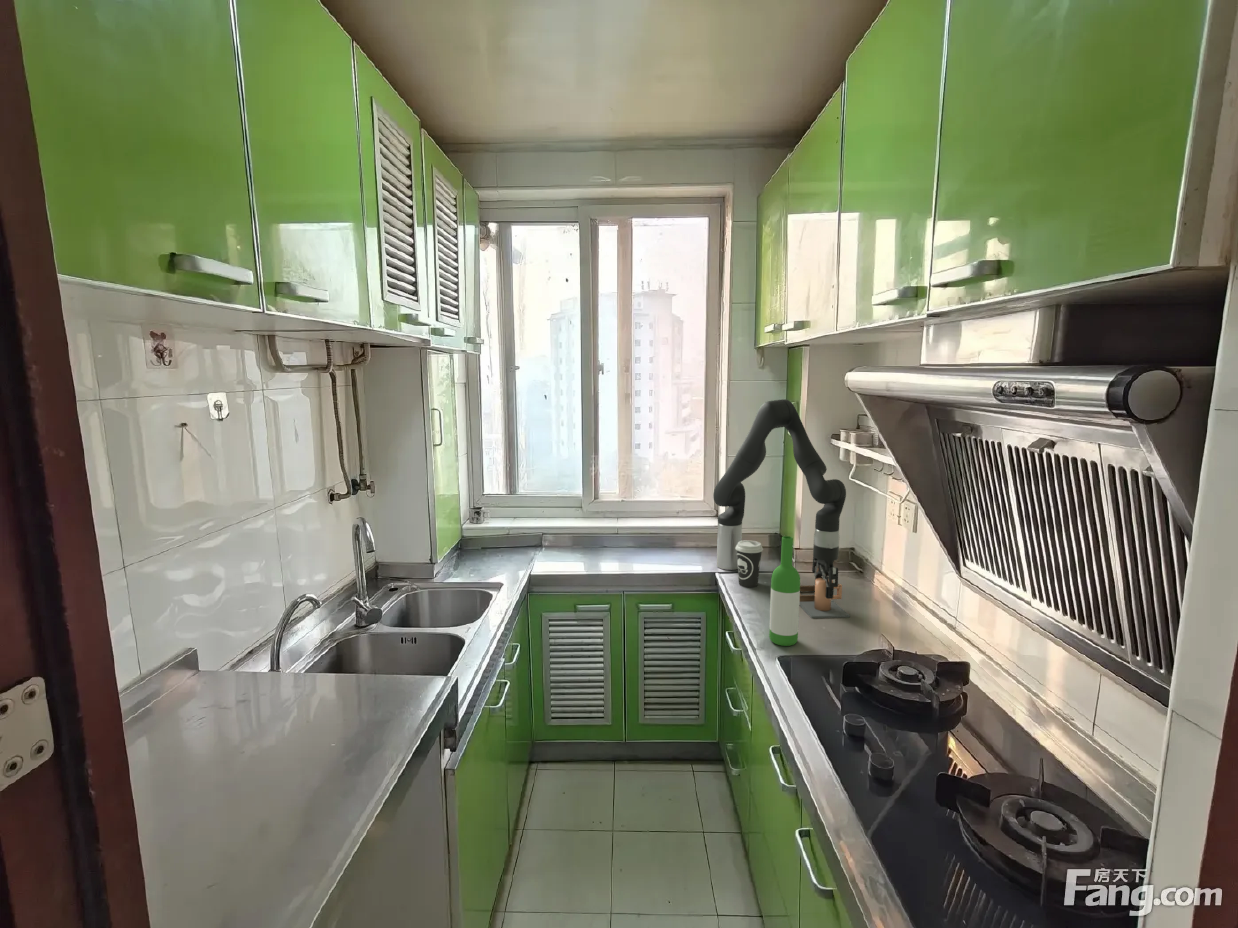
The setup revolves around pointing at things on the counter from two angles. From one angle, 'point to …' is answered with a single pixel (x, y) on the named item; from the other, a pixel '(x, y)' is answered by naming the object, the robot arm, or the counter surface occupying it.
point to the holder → (807, 597)
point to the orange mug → (820, 592)
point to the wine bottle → (785, 598)
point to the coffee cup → (748, 562)
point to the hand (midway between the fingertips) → (823, 593)
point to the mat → (814, 613)
